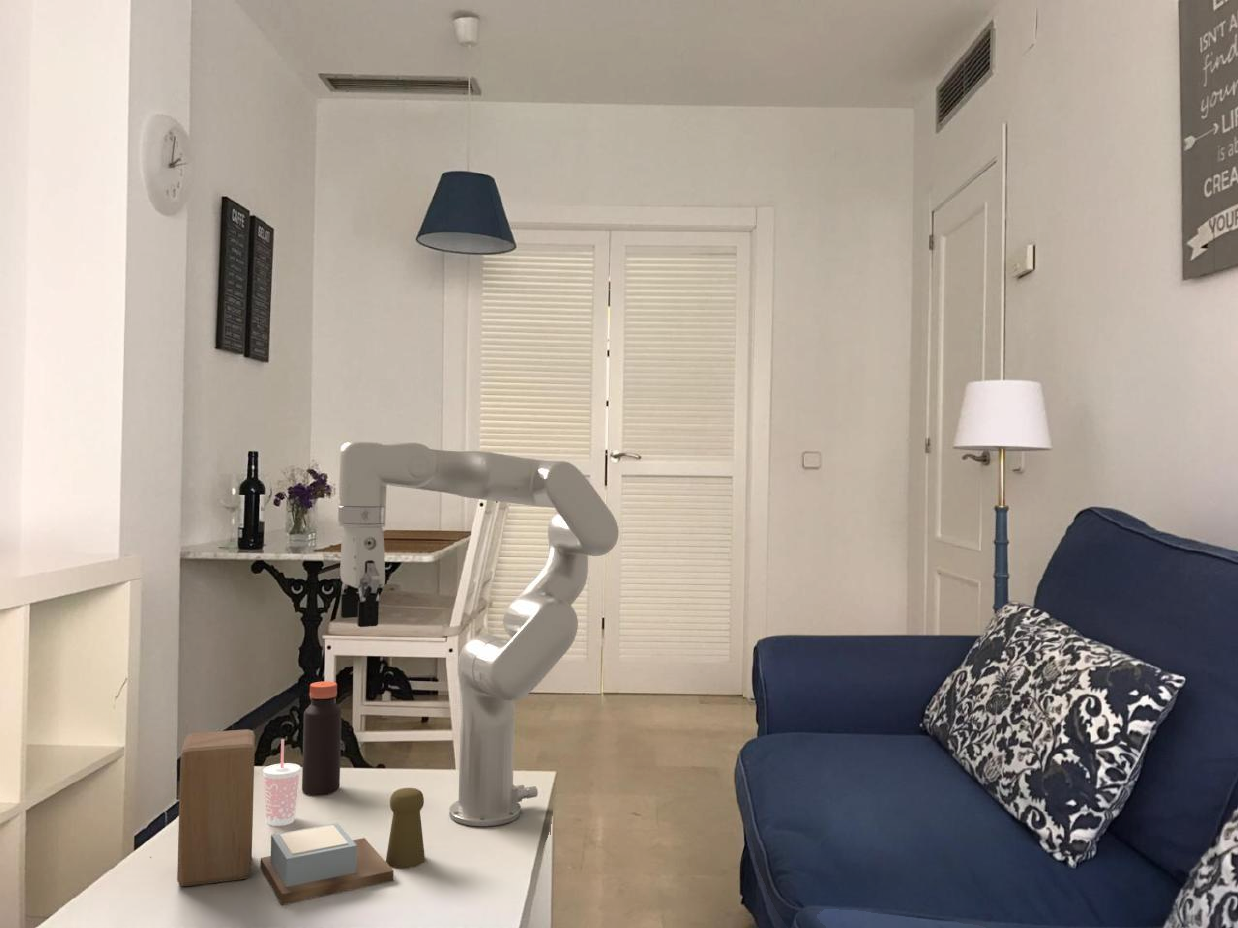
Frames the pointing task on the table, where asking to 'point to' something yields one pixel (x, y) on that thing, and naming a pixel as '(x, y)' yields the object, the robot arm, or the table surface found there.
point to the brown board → (367, 874)
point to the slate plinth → (313, 854)
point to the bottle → (321, 741)
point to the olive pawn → (406, 829)
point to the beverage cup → (281, 791)
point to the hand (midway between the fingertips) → (358, 621)
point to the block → (216, 807)
